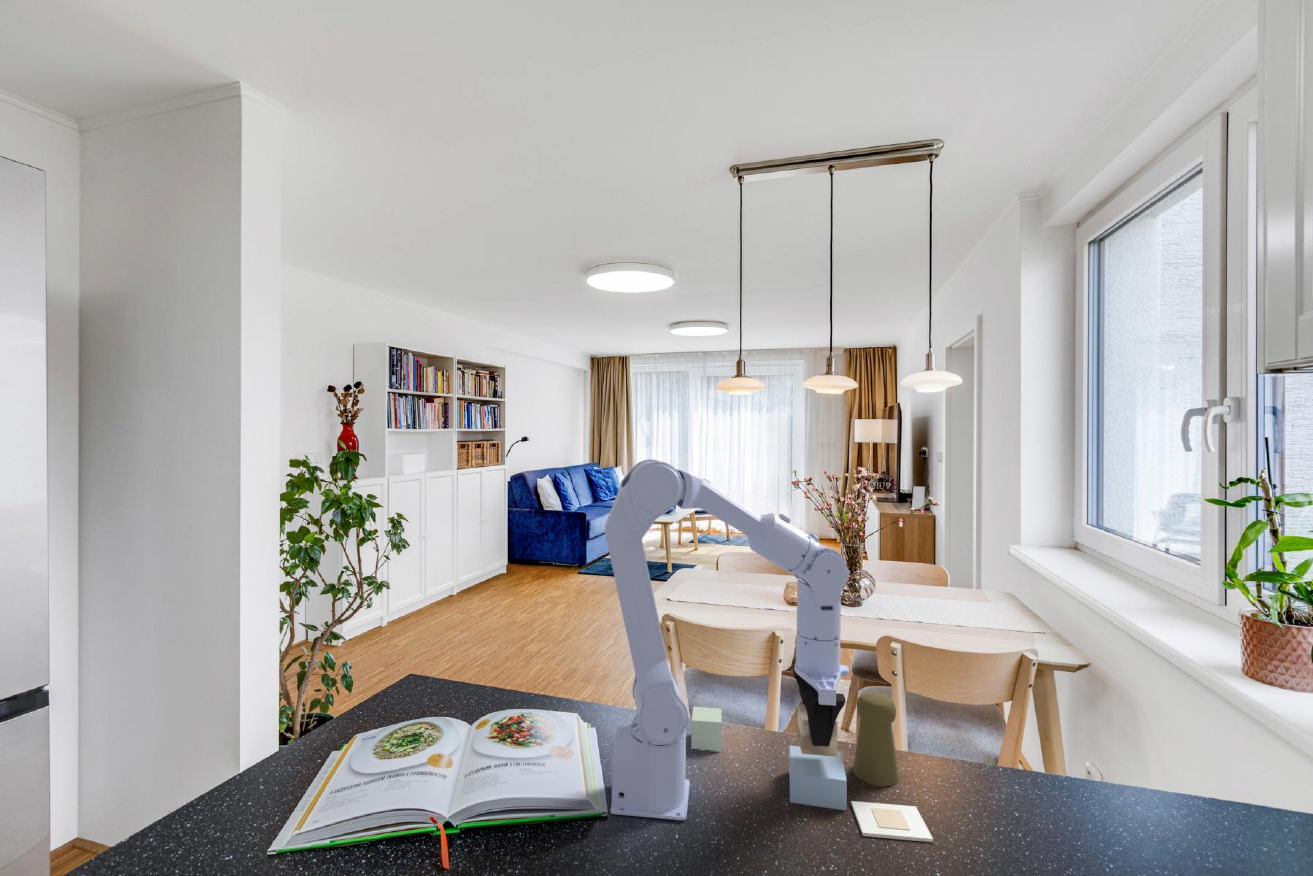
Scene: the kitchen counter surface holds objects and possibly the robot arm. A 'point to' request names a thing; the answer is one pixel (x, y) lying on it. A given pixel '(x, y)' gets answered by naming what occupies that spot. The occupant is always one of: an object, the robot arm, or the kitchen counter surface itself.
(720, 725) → the sage green block
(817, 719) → the robot arm
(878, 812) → the tile
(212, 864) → the kitchen counter surface
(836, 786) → the blue base block
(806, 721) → the birch block
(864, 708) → the cork
